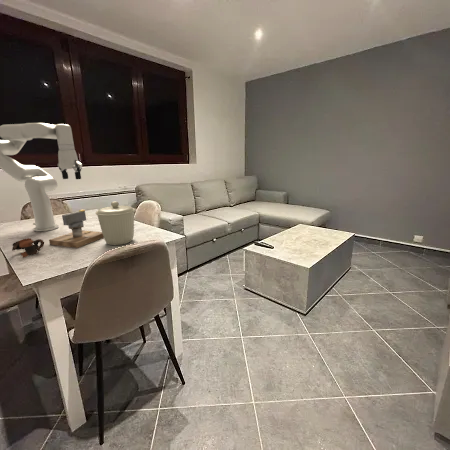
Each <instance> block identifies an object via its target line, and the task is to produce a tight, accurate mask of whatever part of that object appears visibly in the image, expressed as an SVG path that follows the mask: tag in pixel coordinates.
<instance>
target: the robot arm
mask: <svg viewBox="0 0 450 450" xmlns="http://www.w3.org/2000/svg"><path fill="white" fill-rule="evenodd" d="M73 137H74V136H73V131H72V127H71V125H69V124H66V123H65V124H64V123H57V124H50V123H45V122H26V123H14V124H13V123H12V124H11V123H10V124H2V125H0V138H1V139H0V169H1V170H2V171H3V172H4V173H6V174H7V175H9V176H10V177H12V178H14V179H15V180H16V181H18V182H21V183H22V182H23V183H24V187H25V191H26V192H27V195H28V197H29V201H30V205H31V209H32V214H33V217H34V222H33V224H32V225H33V226H35V227H34V228H33V231H34V232H48V231H52V230H56V229H58V228H59V225H58V224H56V222H55V218H54V212H53V208H52V203H51V199H50V197H49V195H48V193H47V192H52V191H55V190H56V189H57V187H58V182H57V179H55V178H54V177H53V176H52V175H51V174H50V173H48V172H47V171H45V170H44V169H42V167H40V166H36V165H35V164H22V163H20V162H19V161H17V160H16V159H14V158H12V157H10V156H14V155H15V156H16V155H17V154H18V153H20V151H21V150H22V148H23V147H24V145H25V144H26V143H27V141H32V140H33V139H51V140H57V146H58V152H57V153H58V154H57V157H58V158H57V159H58V163H57V167H58V169H59V170H60V172H61V175H62V177H61V178H62V180H66V179H67V180H68V179H69V174H68V171H67V170H72V169H73V170H74V176H75V180H82V174H81V172H82V170H83V163H81V162H80V161H79V159H78V158H79V157H78V154H77V152H76V150H75V149H76V148H75V144H74V138H73Z"/></svg>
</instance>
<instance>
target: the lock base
mask: <svg viewBox="0 0 450 450" xmlns="http://www.w3.org/2000/svg"><path fill="white" fill-rule="evenodd" d="M82 228H83V227H82ZM82 228H78V229H71V232H68V233H66V234H62V235H60V236H56V237H54V238H50V239H48V242H49V245H51V246H58V247H66V248H75V249H78V248H81V247H84V246H86V245H89V244H91V243H93V242H96V241H98V240H101V239H104V237H103V234H102V231H93V230H82Z"/></svg>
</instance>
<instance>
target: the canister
mask: <svg viewBox="0 0 450 450" xmlns="http://www.w3.org/2000/svg"><path fill="white" fill-rule="evenodd" d="M135 211H136V209H135V208H133V207H132V206H130V205H120V204H119V202H118V201H116V200H115V201H112V202H111V203H110V206H105V207H103V208H101V207H100V209H98V210H97V211H96V212H95V215H96V216H97V218H98V222H99V223H98V224H99V225H100V229H101V232H102V234H103V237H104V238H103V239H104V241H105V243H106V244H108V245H109V246H110V245H111V246H120V245H121V246H122V245H125V244H129V243H130V242H132V240H133V239H134V237H135V236H134V234H135Z"/></svg>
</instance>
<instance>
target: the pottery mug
mask: <svg viewBox="0 0 450 450" xmlns="http://www.w3.org/2000/svg"><path fill="white" fill-rule="evenodd" d="M39 243H40V245H39ZM44 245H45V241H44V240H43V239H40V238H39V239H35V240H33V239H32V238H30V237H28V238H23V239H21V240H17V241H15V242H13V243H12V244H11V246H12V249H11V251H12V252H13V251H20V250H24V251H23V252H21V253H20V256H21V257H22V258H23V259H24V258H27V257H30V256H34V255H38V252H40V251H41V249H43V247H44Z"/></svg>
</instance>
